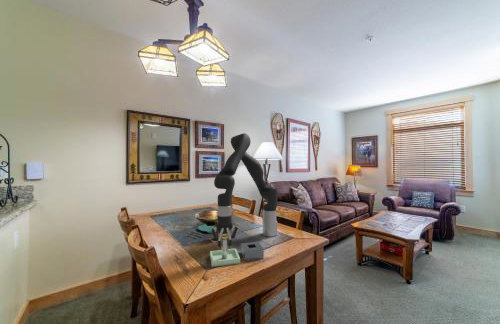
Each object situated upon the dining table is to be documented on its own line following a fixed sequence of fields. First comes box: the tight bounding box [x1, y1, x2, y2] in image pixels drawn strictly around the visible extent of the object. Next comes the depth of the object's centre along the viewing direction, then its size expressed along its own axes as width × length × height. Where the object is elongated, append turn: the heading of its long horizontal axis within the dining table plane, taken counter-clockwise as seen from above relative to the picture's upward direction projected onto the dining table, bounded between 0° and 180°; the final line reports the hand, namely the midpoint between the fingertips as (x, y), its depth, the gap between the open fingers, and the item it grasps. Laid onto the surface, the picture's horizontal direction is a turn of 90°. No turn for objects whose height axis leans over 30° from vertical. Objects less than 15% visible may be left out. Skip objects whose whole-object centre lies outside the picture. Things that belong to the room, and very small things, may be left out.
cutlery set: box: [184, 223, 214, 240], centre depth 150 cm, size 20×30×2 cm, turn 143°
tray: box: [209, 248, 241, 268], centre depth 107 cm, size 14×12×2 cm
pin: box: [221, 234, 229, 260], centre depth 107 cm, size 4×4×12 cm
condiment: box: [209, 219, 222, 244], centre depth 134 cm, size 7×8×12 cm
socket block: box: [240, 241, 265, 262], centre depth 112 cm, size 10×10×5 cm
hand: (224, 246), depth 107 cm, fingers open, 4 cm apart
